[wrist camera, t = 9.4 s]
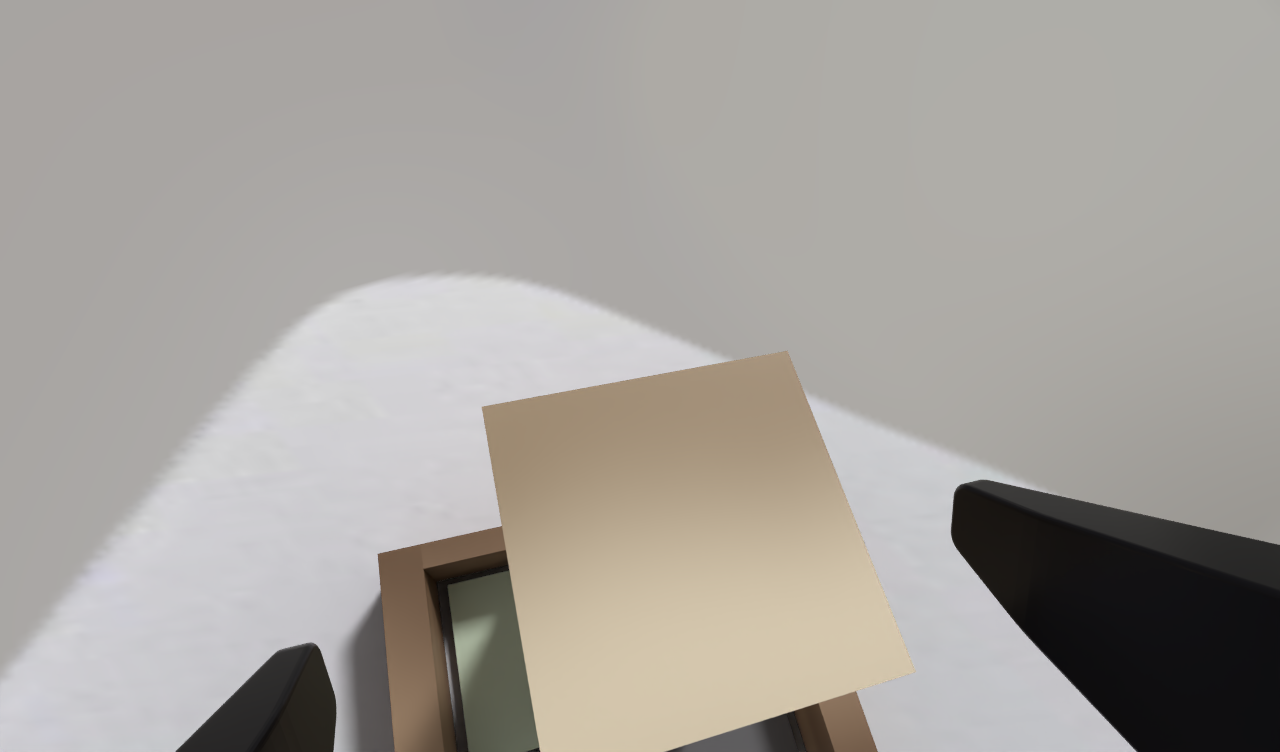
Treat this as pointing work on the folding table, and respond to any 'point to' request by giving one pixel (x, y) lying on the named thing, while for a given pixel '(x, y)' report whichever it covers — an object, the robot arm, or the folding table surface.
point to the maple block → (683, 558)
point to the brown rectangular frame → (420, 660)
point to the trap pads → (749, 739)
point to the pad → (492, 666)
